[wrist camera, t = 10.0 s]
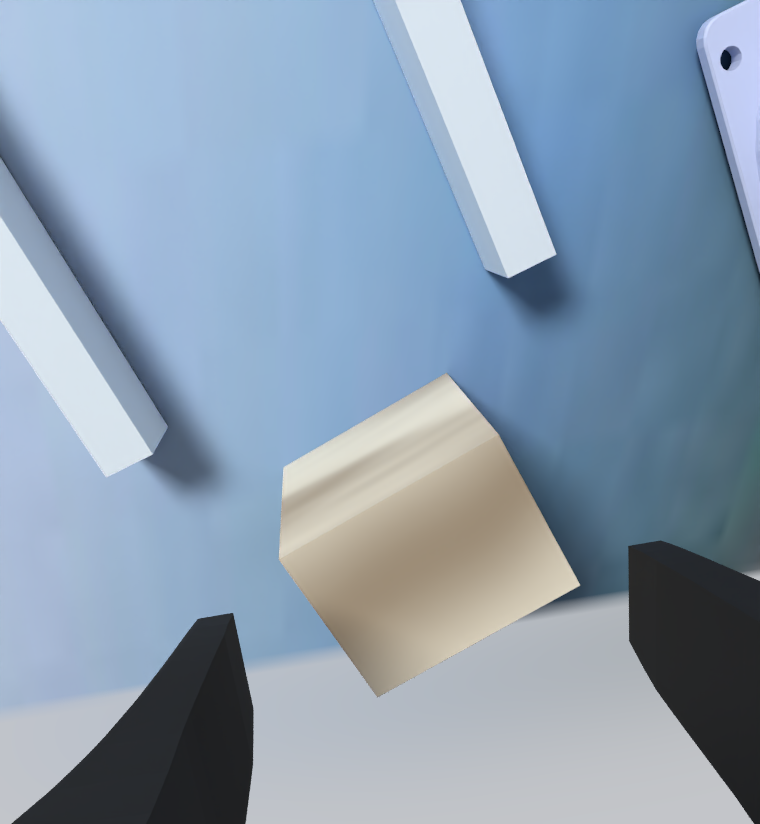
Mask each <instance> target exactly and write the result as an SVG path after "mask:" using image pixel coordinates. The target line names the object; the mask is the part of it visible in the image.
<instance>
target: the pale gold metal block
mask: <svg viewBox="0 0 760 824" xmlns="http://www.w3.org/2000/svg"><path fill="white" fill-rule="evenodd" d="M279 560H280V562H281V563H282V564H283V566H284V567H285V569H286V570H287V571H288V573H289V574H290V576H291V577H292V578H293V580H294V581H295V583H296V584H297V585H298V587H299V588H300V590H301V591H302V592H303V594H304V595H305V597H306V598H307V599H308V601H309V602H310V604H311V605H312V606H313V608H314V609H315V611H316V612H317V613H318V615H319V616H320V618H321V619H322V620H323V622H324V623H325V625H326V626H327V627H328V629H329V630H330V632H331V633H332V634H333V636H334V637H335V639H336V640H337V641H338V643H339V644H340V646H341V647H342V648H343V650H344V651H345V653H346V654H347V655H348V657H349V658H350V659H351V661H352V662H353V664H354V665H355V667H356V668H357V669H358V671H359V672H360V674H361V675H362V676H363V678H364V679H365V680H366V682H367V683H368V685H369V686H370V688H371V689H372V690H373V692H374V693H375V695H376V696H377V697H379V696H381V695H383V694H385V693H386V692H388V691H390V690H392V689H394V688H395V687H397V686H399V685H401V684H402V683H404V682H406V681H408V680H410V679H412V678H414V677H415V676H417V675H419V674H421V673H422V672H424V671H426V670H428V669H430V668H432V667H433V666H435V665H437V664H439V663H441V662H443V661H444V660H446V659H448V658H450V657H452V656H453V655H455V654H457V653H459V652H461V651H462V650H464V649H466V648H468V647H470V646H471V645H473V644H475V643H477V642H479V641H481V640H482V639H484V638H486V637H488V636H490V635H491V634H493V633H495V632H497V631H498V630H500V629H502V628H504V627H506V626H508V625H509V624H511V623H513V622H515V621H517V620H519V619H520V618H522V617H524V616H526V615H528V614H529V613H531V612H533V611H535V610H537V609H538V608H540V607H542V606H544V605H546V604H547V603H549V602H551V601H553V600H555V599H557V598H558V597H560V596H562V595H564V594H566V593H567V592H569V591H571V590H573V589H575V588H576V587H578V586H580V584H579V582H578V580H577V578H576V576H575V575H574V573H573V571H572V569H571V567H570V565H569V563H568V562H567V560H566V558H565V556H564V554H563V552H562V551H561V549H560V547H559V545H558V543H557V541H556V539H555V538H554V536H553V534H552V532H551V530H550V528H549V527H548V525H547V523H546V521H545V519H544V517H543V515H542V514H541V512H540V510H539V508H538V506H537V504H536V503H535V501H534V499H533V497H532V495H531V493H530V491H529V490H528V488H527V486H526V484H525V482H524V480H523V479H522V477H521V475H520V473H519V471H518V469H517V467H516V466H515V464H514V462H513V460H512V458H511V456H510V455H509V453H508V451H507V449H506V447H505V445H504V443H503V442H502V440H501V438H500V436H499V434H498V433H497V432H496V431H495V430H494V428H493V427H492V426H491V425H490V424H489V422H488V421H487V420H486V419H485V418H484V417H483V415H482V414H481V413H480V412H479V411H478V409H477V408H476V407H475V406H474V405H473V403H472V402H471V401H470V400H469V399H468V398H467V396H466V395H465V394H464V393H463V392H462V390H461V389H460V388H459V387H458V386H457V385H456V383H455V382H454V381H453V380H452V379H451V377H450V376H449V375H448V374H447V373H446V374H444V375H442V376H441V377H439V378H437V379H435V380H434V381H432V382H430V383H429V384H427V385H425V386H423V387H422V388H420V389H418V390H416V391H415V392H413V393H411V394H409V395H408V396H406V397H404V398H403V399H401V400H399V401H397V402H396V403H394V404H392V405H390V406H389V407H387V408H385V409H384V410H382V411H380V412H378V413H377V414H375V415H373V416H371V417H370V418H368V419H366V420H365V421H363V422H361V423H359V424H358V425H356V426H354V427H352V428H351V429H349V430H347V431H346V432H344V433H342V434H340V435H339V436H337V437H335V438H333V439H332V440H330V441H328V442H326V443H325V444H323V445H321V446H320V447H318V448H316V449H314V450H313V451H311V452H309V453H307V454H306V455H304V456H302V457H301V458H299V459H297V460H295V461H294V462H292V463H290V464H288V465H287V466H285V467H284V468H283V488H282V508H281V528H280V548H279Z"/></svg>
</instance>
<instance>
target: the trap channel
mask: <svg viewBox="0 0 760 824" xmlns="http://www.w3.org/2000/svg"><path fill="white" fill-rule="evenodd" d="M373 1H374V4H375V6H376V8H377V11H378V13H379V16H380V18H381V20H382V23H383V25H384V28H385V30H386V32H387V35H388V37H389V40H390V42H391V44H392V47H393V49H394V52H395V54H396V56H397V59H398V61H399V64H400V66H401V68H402V71H403V73H404V76H405V78H406V80H407V83H408V85H409V88H410V90H411V93H412V95H413V97H414V100H415V102H416V105H417V107H418V109H419V112H420V114H421V117H422V119H423V121H424V124H425V126H426V129H427V131H428V133H429V136H430V138H431V141H432V143H433V145H434V148H435V150H436V153H437V155H438V157H439V160H440V162H441V165H442V167H443V169H444V172H445V174H446V177H447V179H448V181H449V184H450V186H451V189H452V191H453V193H454V196H455V198H456V201H457V203H458V205H459V208H460V210H461V213H462V215H463V217H464V220H465V222H466V225H467V227H468V229H469V232H470V234H471V237H472V239H473V242H474V244H475V246H476V249H477V251H478V254H479V256H480V258H481V261H482V263H483V266H484V268H485V270H488V271H490V272H493V273H496V274H498V275H501V276H503V277H506V278H510V277H512V276H514V275H516V274H518V273H520V272H522V271H524V270H526V269H528V268H530V267H532V266H534V265H536V264H538V263H540V262H542V261H544V260H546V259H548V258H550V257H552V256H554V255H556V252H555V249H554V247H553V244H552V241H551V239H550V236H549V233H548V231H547V228H546V225H545V223H544V220H543V218H542V215H541V212H540V210H539V207H538V204H537V202H536V199H535V196H534V194H533V191H532V188H531V186H530V183H529V180H528V178H527V175H526V173H525V170H524V167H523V165H522V162H521V159H520V157H519V154H518V151H517V149H516V146H515V143H514V141H513V138H512V136H511V133H510V130H509V128H508V125H507V122H506V120H505V117H504V114H503V112H502V109H501V106H500V104H499V101H498V98H497V96H496V93H495V91H494V88H493V85H492V83H491V80H490V77H489V75H488V72H487V69H486V67H485V64H484V61H483V59H482V56H481V53H480V51H479V48H478V46H477V43H476V40H475V38H474V35H473V32H472V30H471V27H470V24H469V22H468V19H467V16H466V14H465V11H464V8H463V6H462V3H461V1H460V0H373ZM0 321H1V322H2V324H3V325H4V326H5V328H6V329H7V331H8V332H9V334H10V335H11V337H12V338H13V340H14V341H15V343H16V344H17V346H18V347H19V349H20V350H21V352H22V353H23V355H24V356H25V358H26V359H27V361H28V362H29V364H30V365H31V367H32V368H33V370H34V371H35V372H36V374H37V375H38V377H39V378H40V380H41V381H42V383H43V384H44V386H45V387H46V389H47V390H48V392H49V393H50V395H51V396H52V398H53V399H54V401H55V402H56V404H57V405H58V407H59V408H60V410H61V411H62V413H63V414H64V416H65V417H66V419H67V420H68V421H69V423H70V424H71V426H72V427H73V429H74V430H75V432H76V433H77V435H78V436H79V438H80V439H81V441H82V442H83V444H84V445H85V447H86V448H87V450H88V451H89V453H90V454H91V456H92V457H93V459H94V460H95V462H96V463H97V465H98V466H99V467H100V469H101V470H102V472H103V473H104V475H105V476H106V477H108V476H110V475H112V474H114V473H116V472H118V471H120V470H122V469H124V468H126V467H128V466H130V465H132V464H134V463H136V462H139V461H141V460H143V459H145V458H147V457H149V456H151V455H153V453H154V451H155V450H156V448H157V446H158V444H159V442H160V441H161V439H162V437H163V435H164V433H165V432H166V430H167V428H168V426H167V424H166V423H165V421H164V420H163V418H162V416H161V415H160V413H159V411H158V410H157V408H156V407H155V405H154V403H153V402H152V400H151V399H150V397H149V395H148V394H147V392H146V391H145V389H144V387H143V386H142V384H141V383H140V381H139V379H138V378H137V376H136V375H135V373H134V371H133V370H132V368H131V366H130V365H129V363H128V362H127V360H126V358H125V357H124V355H123V354H122V352H121V350H120V349H119V347H118V346H117V344H116V342H115V341H114V339H113V338H112V336H111V334H110V333H109V331H108V330H107V328H106V326H105V325H104V323H103V321H102V320H101V318H100V317H99V315H98V313H97V312H96V310H95V309H94V307H93V305H92V304H91V302H90V301H89V299H88V297H87V296H86V294H85V293H84V291H83V289H82V288H81V286H80V285H79V283H78V281H77V280H76V278H75V276H74V275H73V273H72V272H71V270H70V268H69V267H68V265H67V264H66V262H65V260H64V259H63V257H62V256H61V254H60V252H59V251H58V249H57V248H56V246H55V244H54V243H53V241H52V239H51V238H50V236H49V235H48V233H47V231H46V230H45V228H44V227H43V225H42V223H41V222H40V220H39V219H38V217H37V215H36V214H35V212H34V211H33V209H32V207H31V206H30V204H29V203H28V201H27V199H26V198H25V196H24V194H23V193H22V191H21V190H20V188H19V186H18V185H17V183H16V182H15V180H14V178H13V177H12V175H11V174H10V172H9V170H8V169H7V167H6V166H5V164H4V162H3V161H2V159H1V158H0Z"/></svg>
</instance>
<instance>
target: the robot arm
mask: <svg viewBox="0 0 760 824" xmlns="http://www.w3.org/2000/svg"><path fill="white" fill-rule="evenodd" d="M696 44H697V51H698V55H699V58H700V62H701V66H702V69H703V73H704V76H705V80H706V83H707V87H708V90H709V94H710V98H711V101H712V105H713V108H714V112H715V115H716V119H717V123H718V126H719V130H720V133H721V137H722V140H723V144H724V148H725V151H726V155H727V158H728V162H729V165H730V169H731V173H732V176H733V180H734V183H735V187H736V190H737V194H738V197H739V201H740V205H741V208H742V212H743V215H744V219H745V222H746V226H747V230H748V233H749V237H750V240H751V244H752V247H753V251H754V255H755V258H756V262H757V265H758V269H759V272H760V0H745V1H743V2H741V3H739V4H737V5H735V6H733V7H731V8H729V9H727V10H725V11H723V12H721V13H719V14H717V15H715V16H713V17H711V18H710V19H708V20H707V21H706V22H705V23H703V25H702V26H701V28H700V30H699V31H698V35H697V39H696ZM723 50H726V51H728V52H729V53H730V55H731V65H730V67H729V69H728V70H725V69H723V67H722V66H721V64H720V57H721V54H722V52H723ZM628 549H629V641H630V643H631V645H632V647H633V649H634V651H635V653H636V655H637V656H638V658H639V660H640V662H641V664H642V666H643V668H644V669H645V671H646V673H647V675H648V676H649V678H650V680H651V682H652V683H653V685H654V687H655V689H656V690H657V692H658V693H659V694H660V696H661V697H662V698H663V700H664V701H665V703H666V704H667V705H668V707H669V708H670V710H671V711H672V712H673V714H674V715H675V716H676V718H677V719H678V720H679V722H680V723H681V724H682V726H683V727H684V728H685V730H686V731H687V733H688V734H689V735H690V736H691V738H692V739H693V740H694V742H695V743H696V744H697V746H698V747H699V749H700V750H701V751H702V753H703V754H704V755H705V756H706V758H707V759H708V760H709V762H710V763H711V765H712V766H713V767H714V769H715V770H716V771H717V773H718V774H719V775H720V777H721V778H722V779H723V781H724V782H725V783H726V785H727V786H728V787H729V789H730V790H731V791H732V793H733V794H734V795H735V797H736V798H737V799H738V801H739V802H740V804H741V805H742V807H743V808H744V810H745V811H746V812H747V814H748V815H749V817H750V818H751V820H752V821H753V823H754V824H760V581H758V580H756V579H754V578H751V577H749V576H746V575H744V574H742V573H739V572H737V571H735V570H732V569H730V568H728V567H725V566H723V565H721V564H718V563H716V562H714V561H711V560H709V559H707V558H704V557H702V556H700V555H697V554H695V553H692V552H690V551H688V550H685V549H683V548H680V547H678V546H675V545H672V544H669V543H666V542H663V541H655V542H650V543H644V544H638V545H632V546H628ZM252 768H253V705H252V700H251V695H250V691H249V686H248V681H247V677H246V672H245V667H244V662H243V658H242V653H241V648H240V644H239V639H238V634H237V630H236V625H235V620H234V615H233V613H230V614H224V615H218V616H212V617H206V618H200V619H198V620H197V621H196V622H195V623H194V625H193V626H192V627H191V629H190V630H189V631H188V632H187V634H186V635H185V637H184V638H183V639H182V641H181V642H180V643H179V645H178V646H177V647H176V649H175V650H174V652H173V653H172V654H171V656H170V657H169V658H168V660H167V661H166V662H165V664H164V665H163V666H162V668H161V669H160V670H159V672H158V673H157V674H156V676H155V677H154V678H153V679H152V681H151V682H150V683H149V685H148V686H147V687H146V688H145V690H144V691H143V692H142V694H141V695H140V696H139V697H138V699H137V700H136V701H135V702H134V704H133V705H132V706H131V707H130V708H129V709H128V710H127V712H126V713H125V714H124V715H123V717H122V718H121V719H120V720H119V721H118V722H117V723H116V724H115V726H114V727H113V728H112V729H111V730H110V731H109V733H108V734H107V735H106V736H105V737H104V738H103V739H102V740H101V741H100V743H98V745H97V746H96V747H95V748H94V749H93V750H92V751H91V752H90V753H89V754H88V755H87V756H86V757H85V758H84V759H83V760H82V761H81V762H80V763H79V764H78V765H77V766H76V767H75V768H74V769H73V770H72V771H71V772H70V773H68V775H66V776H65V777H64V778H63V779H62V780H61V781H60V782H59V783H58V784H57V785H56V786H55V787H54V788H53V789H52V790H51V791H49V792H48V793H47V794H46V795H45V796H44V797H42V798H41V799H40V800H39V801H38V802H36V803H35V804H34V805H33V806H32V807H31V808H29V809H28V810H27V811H26V812H25V813H23V814H22V815H21V816H20V817H19V818H18V819H16V820H15V821H14V822H13V823H12V824H245V822H246V815H247V807H248V800H249V791H250V784H251V776H252Z"/></svg>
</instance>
